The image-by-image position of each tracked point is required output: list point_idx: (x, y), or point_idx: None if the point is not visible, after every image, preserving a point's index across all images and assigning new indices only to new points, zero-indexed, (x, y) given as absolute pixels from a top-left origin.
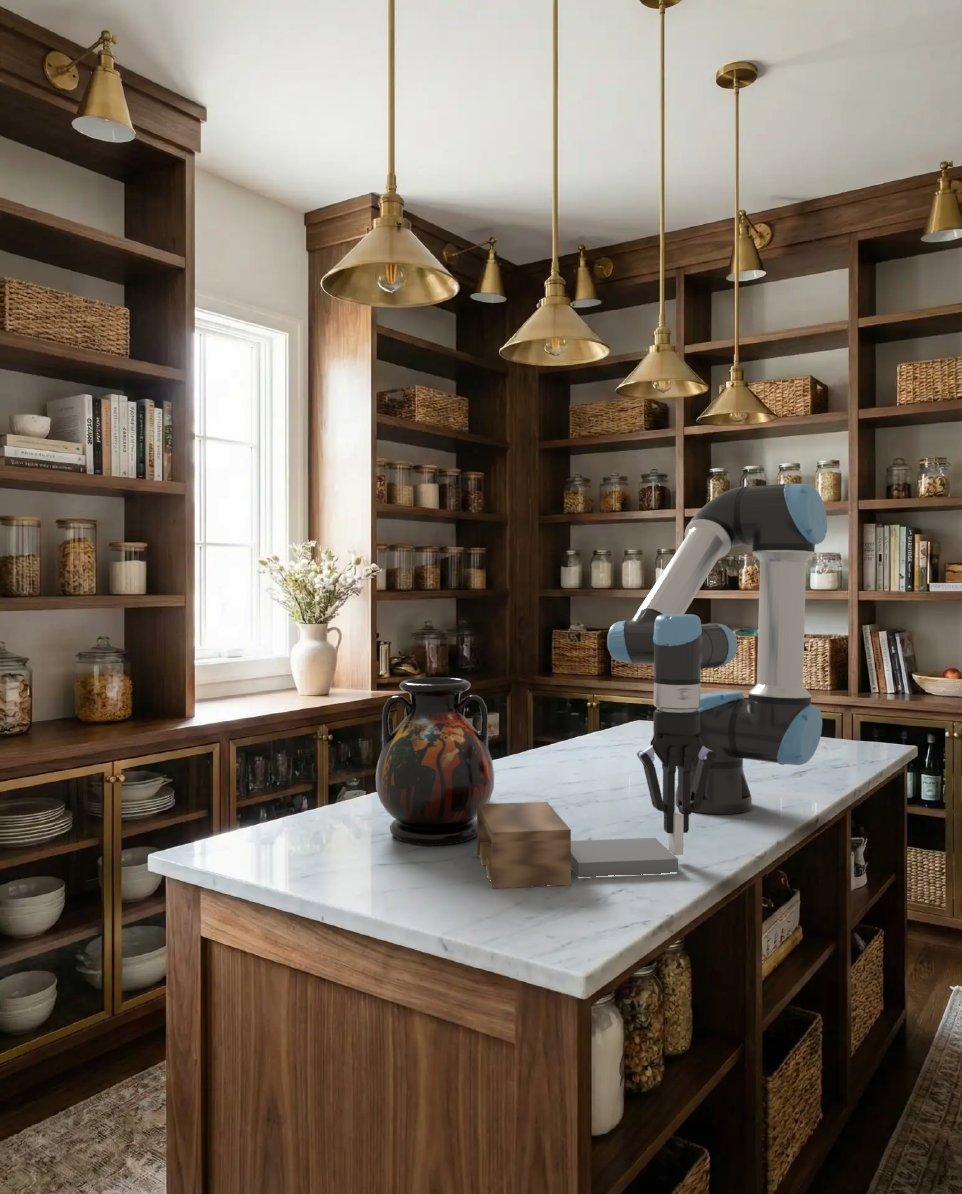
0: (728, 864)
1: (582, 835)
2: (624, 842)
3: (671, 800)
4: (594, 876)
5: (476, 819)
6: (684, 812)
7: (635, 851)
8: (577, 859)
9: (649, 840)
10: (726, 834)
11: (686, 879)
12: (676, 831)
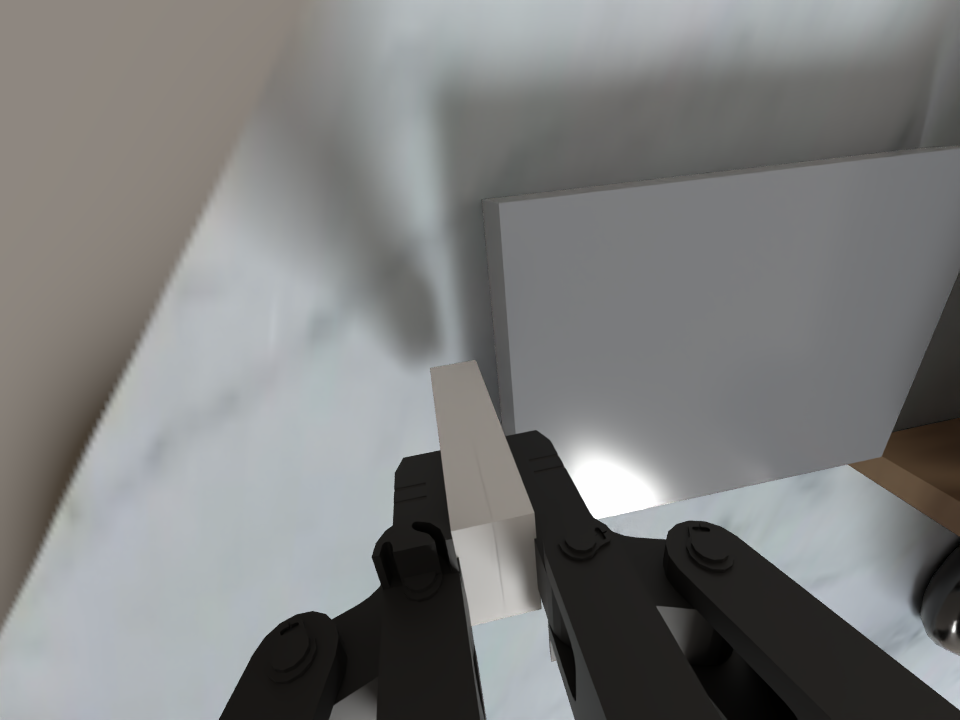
0: (200, 367)
1: None
2: (670, 463)
3: (631, 657)
4: (864, 154)
5: (953, 623)
6: (450, 534)
7: (677, 339)
8: None
9: None
10: (202, 696)
11: (455, 109)
12: (488, 429)
